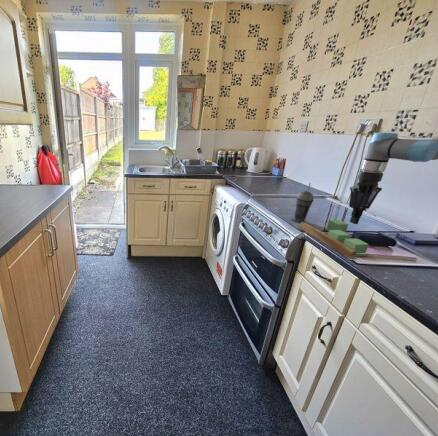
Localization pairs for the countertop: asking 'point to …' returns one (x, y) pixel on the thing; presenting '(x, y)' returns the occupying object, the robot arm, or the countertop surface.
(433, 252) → the countertop surface
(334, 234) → the block middle
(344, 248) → the oak rail
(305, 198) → the beverage cup
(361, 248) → the block
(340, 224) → the block
